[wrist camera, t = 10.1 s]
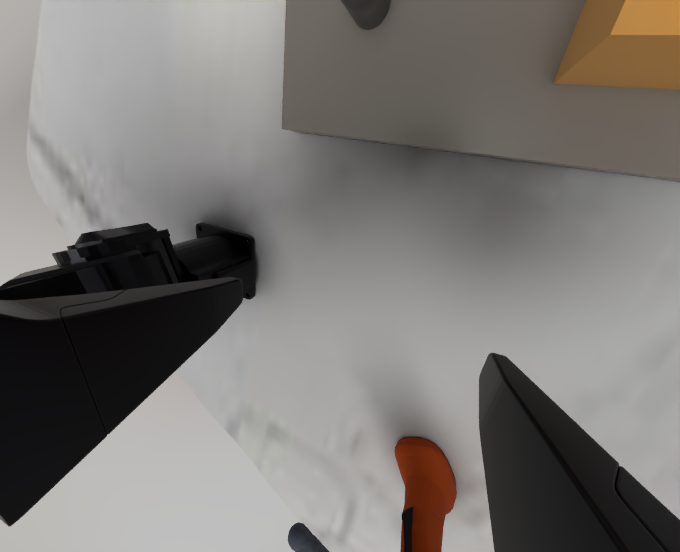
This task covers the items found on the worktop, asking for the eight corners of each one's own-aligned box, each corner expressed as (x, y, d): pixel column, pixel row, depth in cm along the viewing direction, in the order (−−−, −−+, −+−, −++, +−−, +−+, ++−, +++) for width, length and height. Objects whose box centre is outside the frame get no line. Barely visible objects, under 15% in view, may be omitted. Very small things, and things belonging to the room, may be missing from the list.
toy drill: (386, 343, 21) (307, 661, 8) (464, 486, 26) (487, 808, 14) (335, 352, 23) (215, 612, 11) (417, 482, 29) (400, 754, 16)
